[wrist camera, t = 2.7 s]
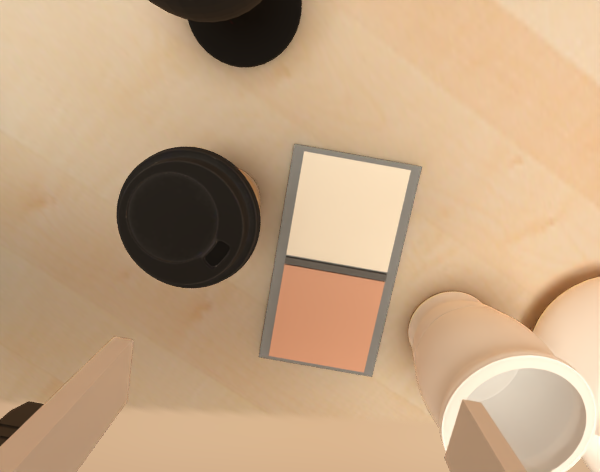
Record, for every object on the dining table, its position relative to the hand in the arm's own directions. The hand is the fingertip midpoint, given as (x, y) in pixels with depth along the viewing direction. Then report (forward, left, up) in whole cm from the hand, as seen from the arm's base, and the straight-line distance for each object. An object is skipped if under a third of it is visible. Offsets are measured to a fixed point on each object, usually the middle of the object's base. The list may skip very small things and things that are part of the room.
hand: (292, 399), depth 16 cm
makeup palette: (+3, -1, -25) cm, 25 cm away
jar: (+16, -6, -25) cm, 31 cm away
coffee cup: (-8, +4, -25) cm, 27 cm away
